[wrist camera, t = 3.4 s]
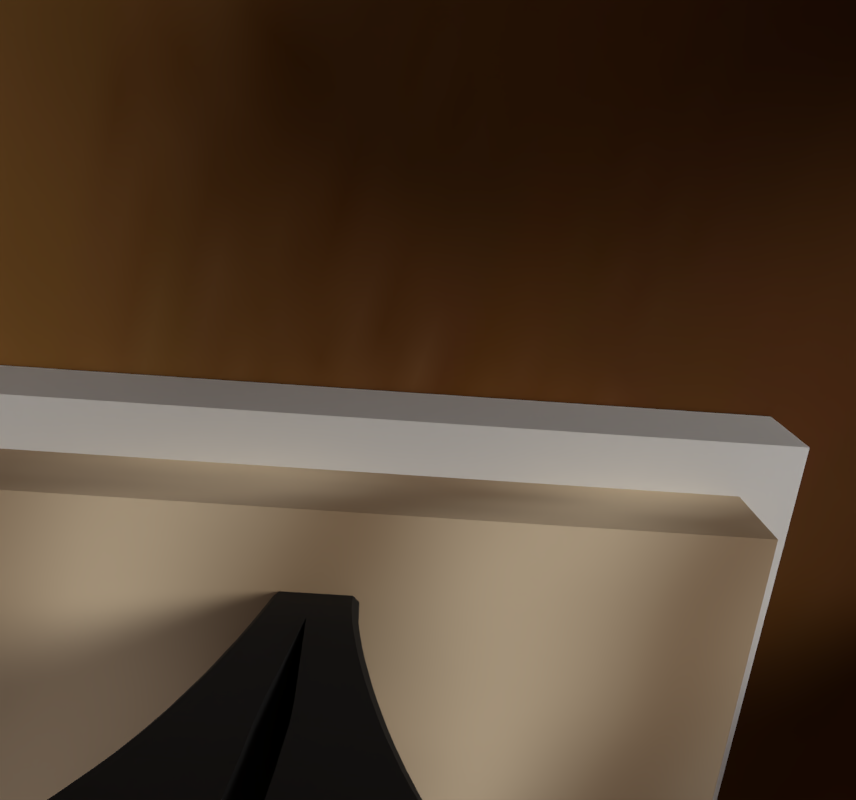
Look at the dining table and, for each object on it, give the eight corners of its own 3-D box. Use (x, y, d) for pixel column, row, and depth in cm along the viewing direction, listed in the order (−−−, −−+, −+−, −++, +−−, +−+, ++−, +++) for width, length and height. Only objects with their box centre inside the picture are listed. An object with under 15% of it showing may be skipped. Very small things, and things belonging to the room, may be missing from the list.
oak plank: (738, 496, 13) (778, 539, 11) (653, 874, 15) (675, 947, 14) (-68, 444, 12) (-134, 481, 11) (-4, 837, 15) (-49, 906, 14)
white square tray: (770, 416, 14) (858, 486, 11) (627, 1009, 19) (661, 1157, 16) (-78, 360, 13) (-213, 416, 11) (27, 976, 19) (-43, 1121, 16)
